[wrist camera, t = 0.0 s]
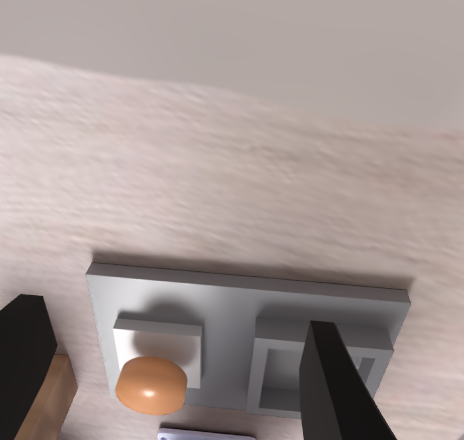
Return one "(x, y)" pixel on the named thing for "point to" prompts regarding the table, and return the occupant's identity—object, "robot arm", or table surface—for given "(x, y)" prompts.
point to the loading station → (237, 330)
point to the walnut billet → (50, 402)
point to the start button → (151, 385)
